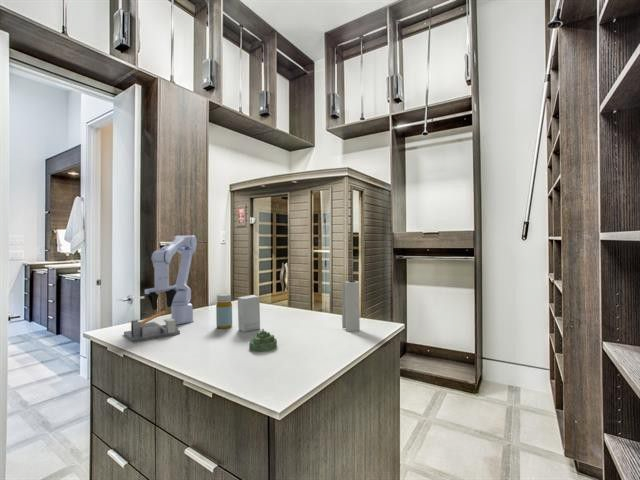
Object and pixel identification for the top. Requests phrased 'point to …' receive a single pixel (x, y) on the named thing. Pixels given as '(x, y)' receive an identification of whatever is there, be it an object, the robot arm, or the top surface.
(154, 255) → the robot arm
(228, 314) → the bottle
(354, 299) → the tall grey block
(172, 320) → the clip
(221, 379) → the top surface
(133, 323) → the grey workpiece holding fixture
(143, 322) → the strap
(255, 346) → the decorative artifact
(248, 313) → the skincare box
